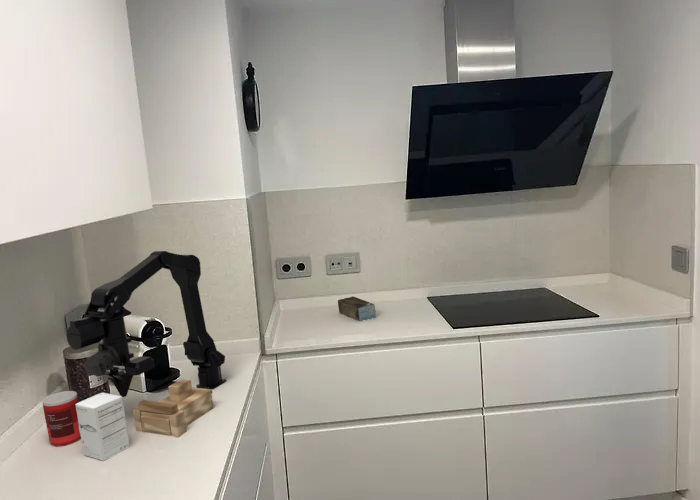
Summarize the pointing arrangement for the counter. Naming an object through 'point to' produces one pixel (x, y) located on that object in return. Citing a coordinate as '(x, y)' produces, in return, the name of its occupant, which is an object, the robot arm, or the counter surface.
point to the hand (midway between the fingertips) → (124, 396)
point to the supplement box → (102, 426)
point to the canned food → (62, 418)
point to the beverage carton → (356, 308)
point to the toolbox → (173, 419)
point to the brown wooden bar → (157, 407)
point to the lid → (181, 397)
